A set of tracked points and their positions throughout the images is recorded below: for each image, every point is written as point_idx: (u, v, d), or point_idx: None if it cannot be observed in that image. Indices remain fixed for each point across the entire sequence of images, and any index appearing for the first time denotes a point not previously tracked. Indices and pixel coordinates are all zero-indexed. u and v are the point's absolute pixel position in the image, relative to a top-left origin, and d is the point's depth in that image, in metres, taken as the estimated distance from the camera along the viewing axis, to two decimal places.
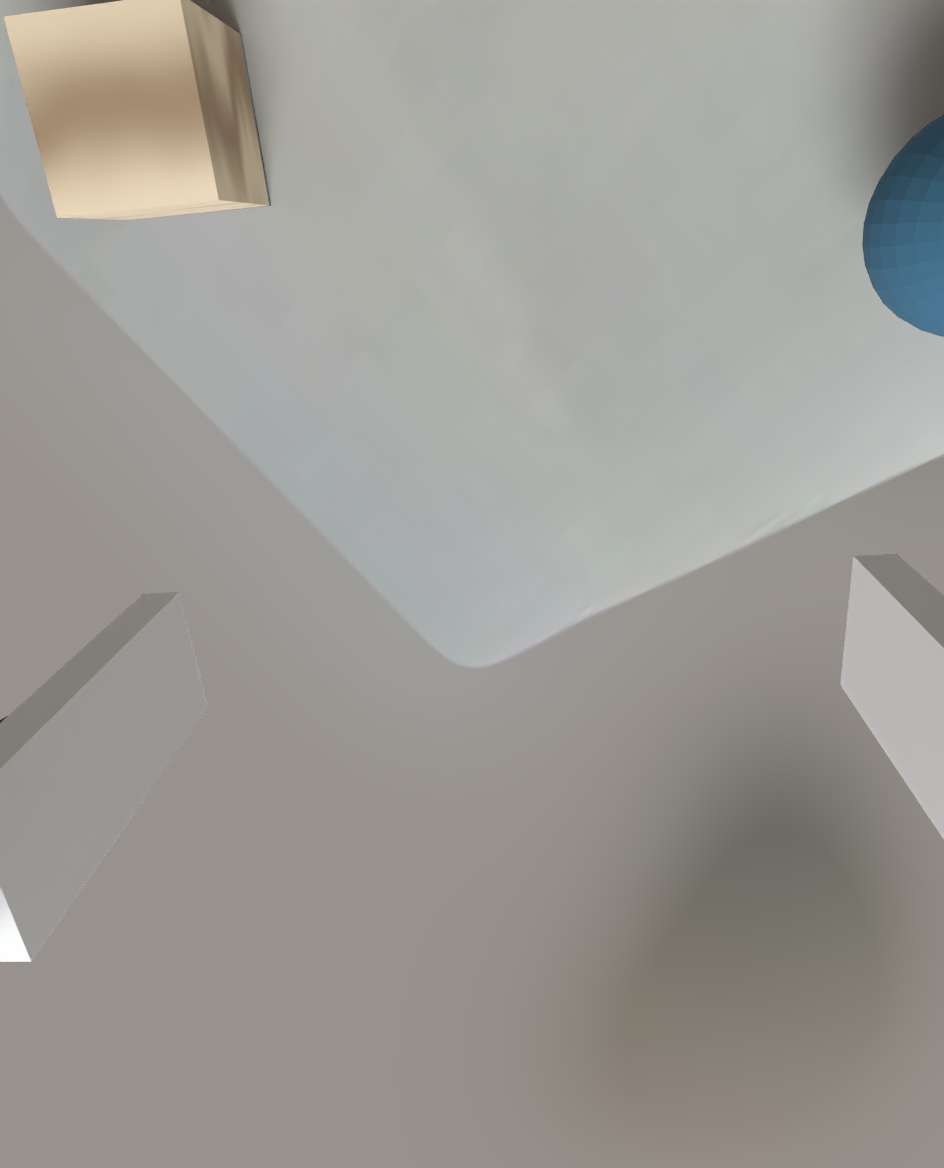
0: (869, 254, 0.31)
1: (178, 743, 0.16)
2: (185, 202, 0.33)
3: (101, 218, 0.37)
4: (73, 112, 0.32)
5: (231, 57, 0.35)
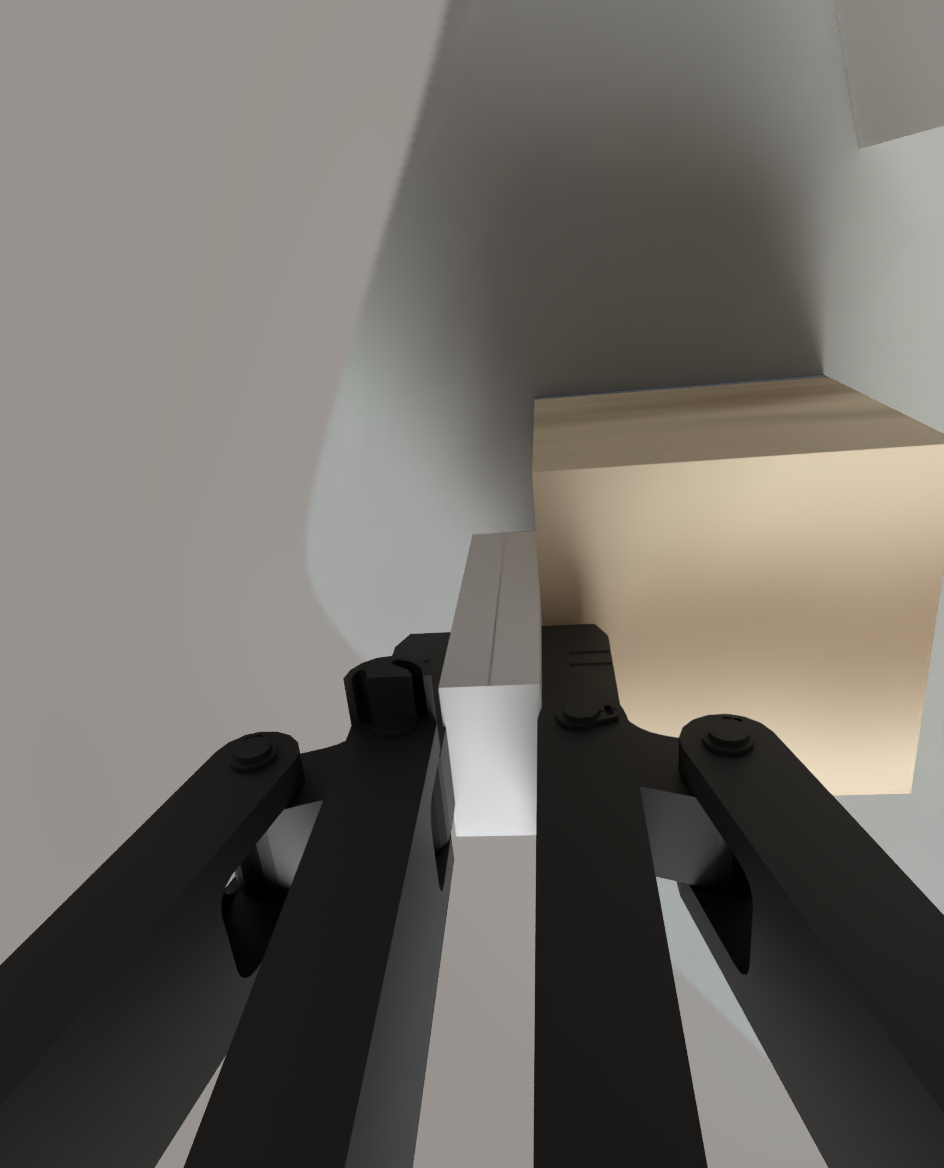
0: None
1: None
2: (837, 794, 0.16)
3: None
4: (639, 642, 0.15)
5: None
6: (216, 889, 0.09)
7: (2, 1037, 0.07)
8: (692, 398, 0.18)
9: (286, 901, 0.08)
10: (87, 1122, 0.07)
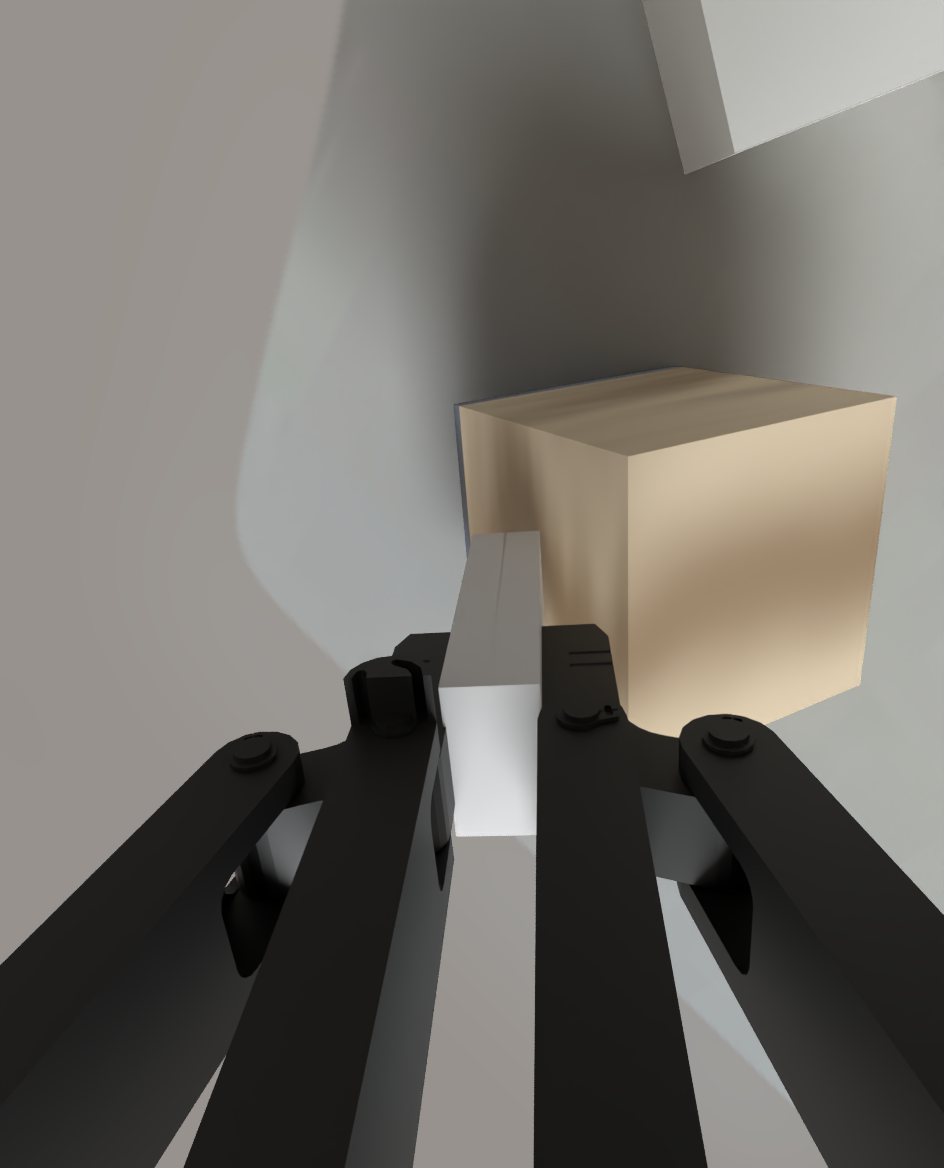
0: None
1: None
2: None
3: None
4: (700, 604, 0.16)
5: None
6: (216, 888, 0.09)
7: (2, 1037, 0.07)
8: (611, 390, 0.20)
9: (286, 901, 0.08)
10: (87, 1122, 0.07)
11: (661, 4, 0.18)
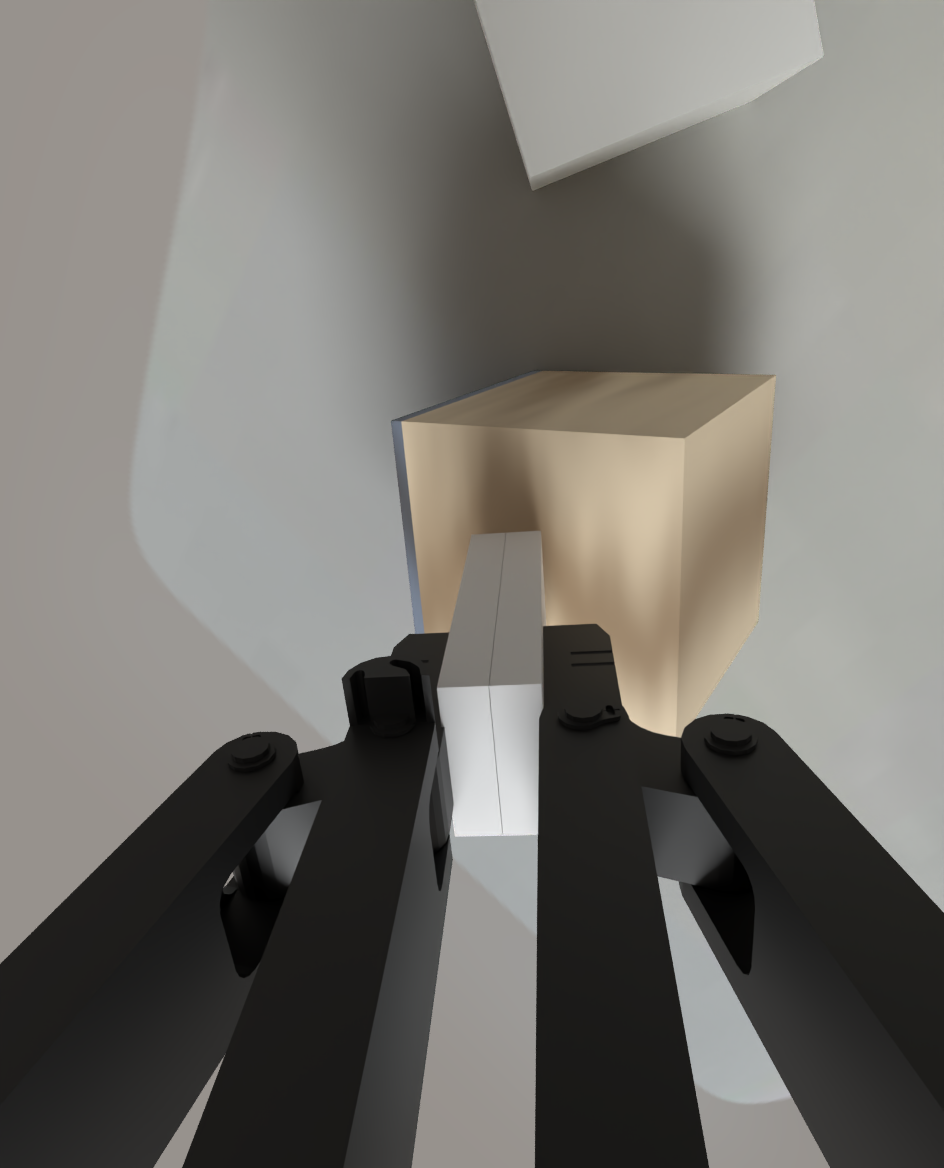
0: None
1: None
2: None
3: None
4: (707, 570, 0.18)
5: None
6: (214, 888, 0.09)
7: (0, 1037, 0.07)
8: (526, 393, 0.21)
9: (284, 902, 0.08)
10: (86, 1122, 0.07)
11: None
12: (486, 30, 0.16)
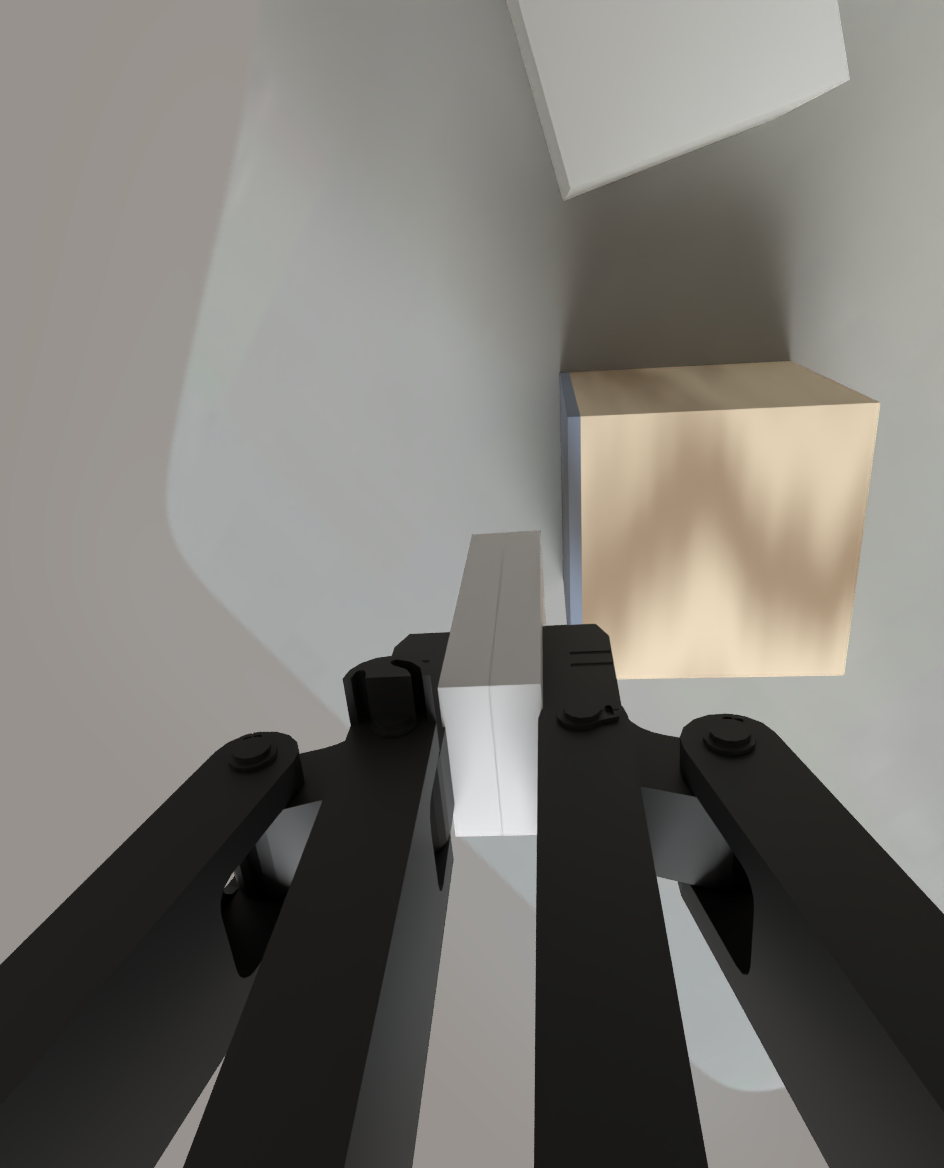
0: None
1: None
2: None
3: (705, 675, 0.21)
4: None
5: None
6: (215, 889, 0.09)
7: (1, 1037, 0.07)
8: (622, 388, 0.22)
9: (285, 901, 0.08)
10: (86, 1122, 0.07)
11: (525, 54, 0.20)
12: (533, 50, 0.17)
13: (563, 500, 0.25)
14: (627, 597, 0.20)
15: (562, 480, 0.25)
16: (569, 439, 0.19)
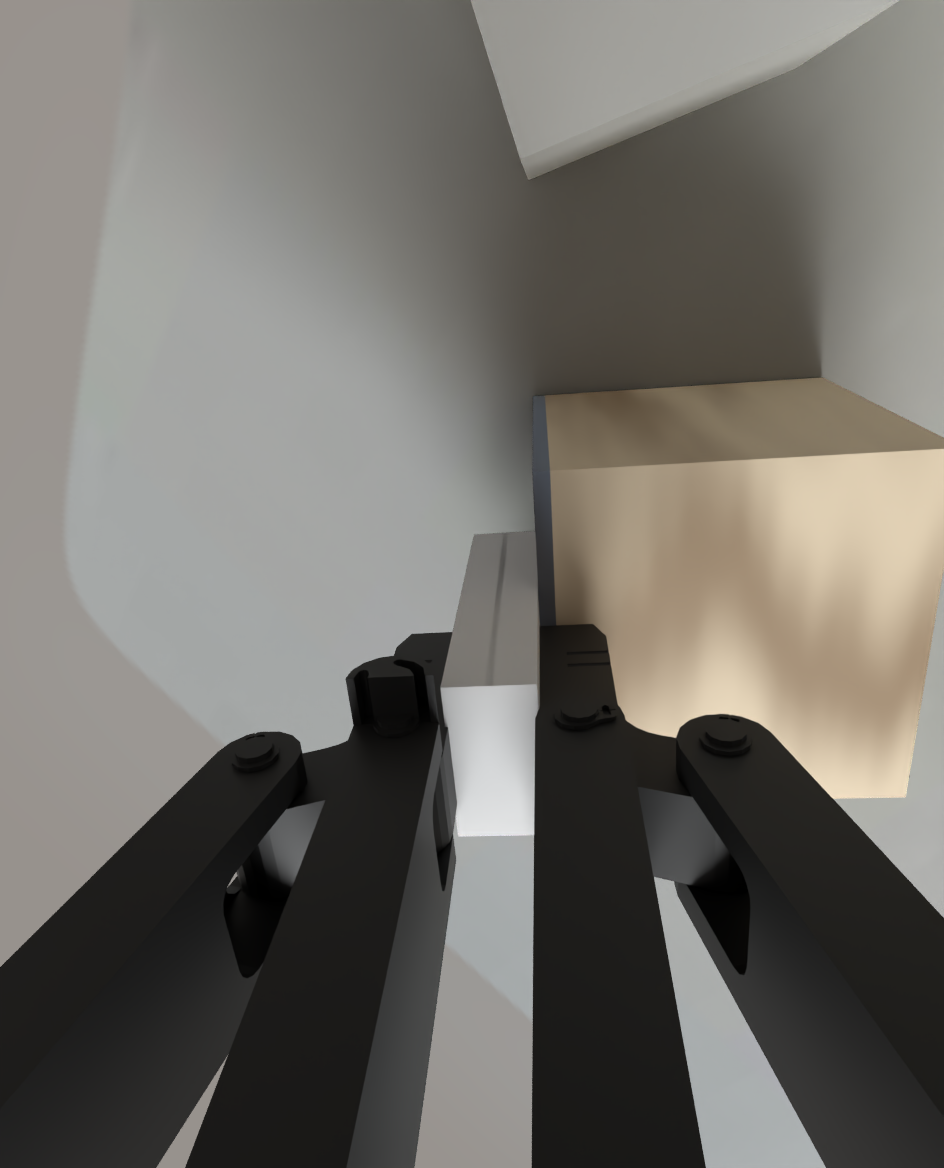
0: None
1: None
2: None
3: None
4: None
5: None
6: (217, 888, 0.09)
7: (4, 1037, 0.07)
8: (609, 421, 0.17)
9: (288, 900, 0.08)
10: (89, 1122, 0.07)
11: None
12: None
13: None
14: (618, 702, 0.15)
15: None
16: (535, 501, 0.14)
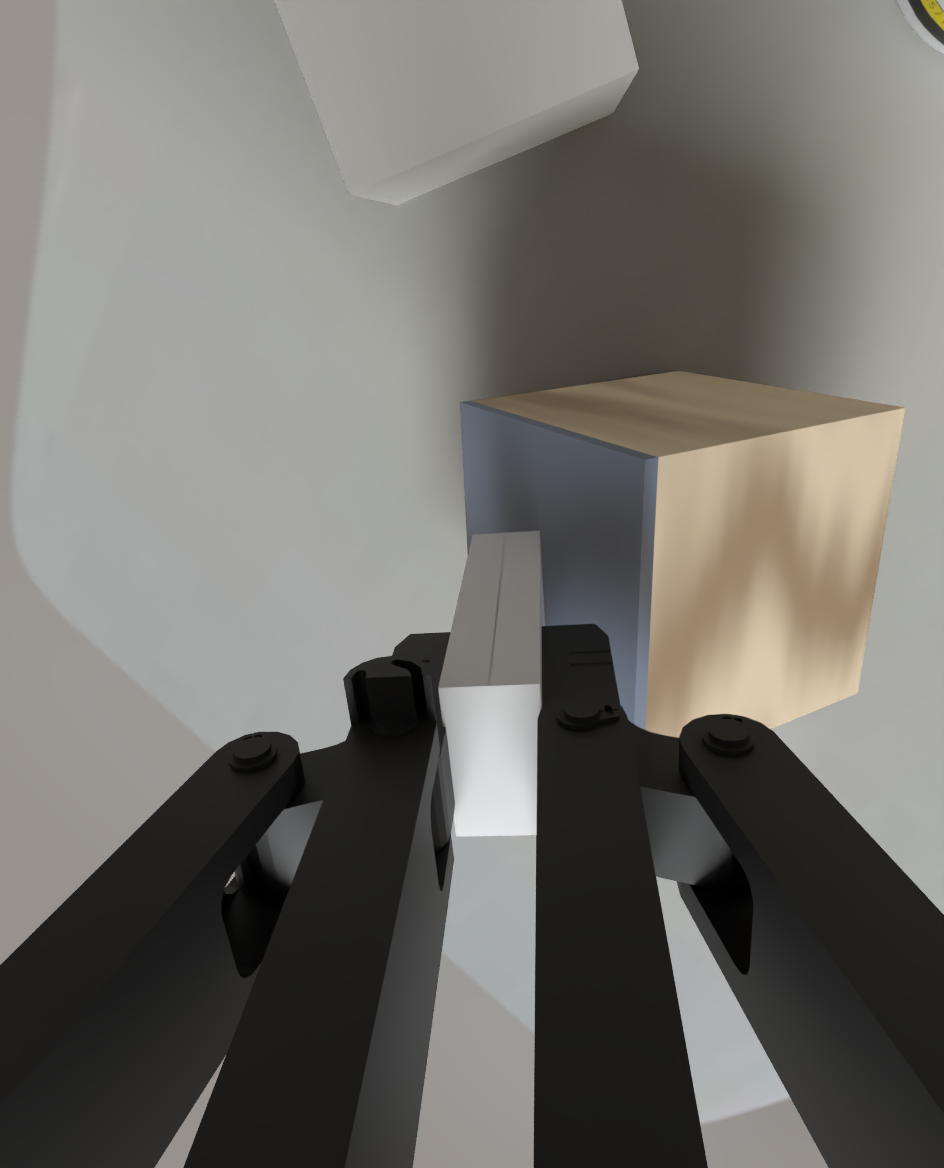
0: None
1: None
2: None
3: None
4: None
5: None
6: (216, 889, 0.09)
7: (2, 1037, 0.07)
8: (596, 415, 0.18)
9: (286, 902, 0.08)
10: (87, 1122, 0.07)
11: None
12: (292, 43, 0.15)
13: None
14: (690, 670, 0.17)
15: None
16: (644, 488, 0.14)
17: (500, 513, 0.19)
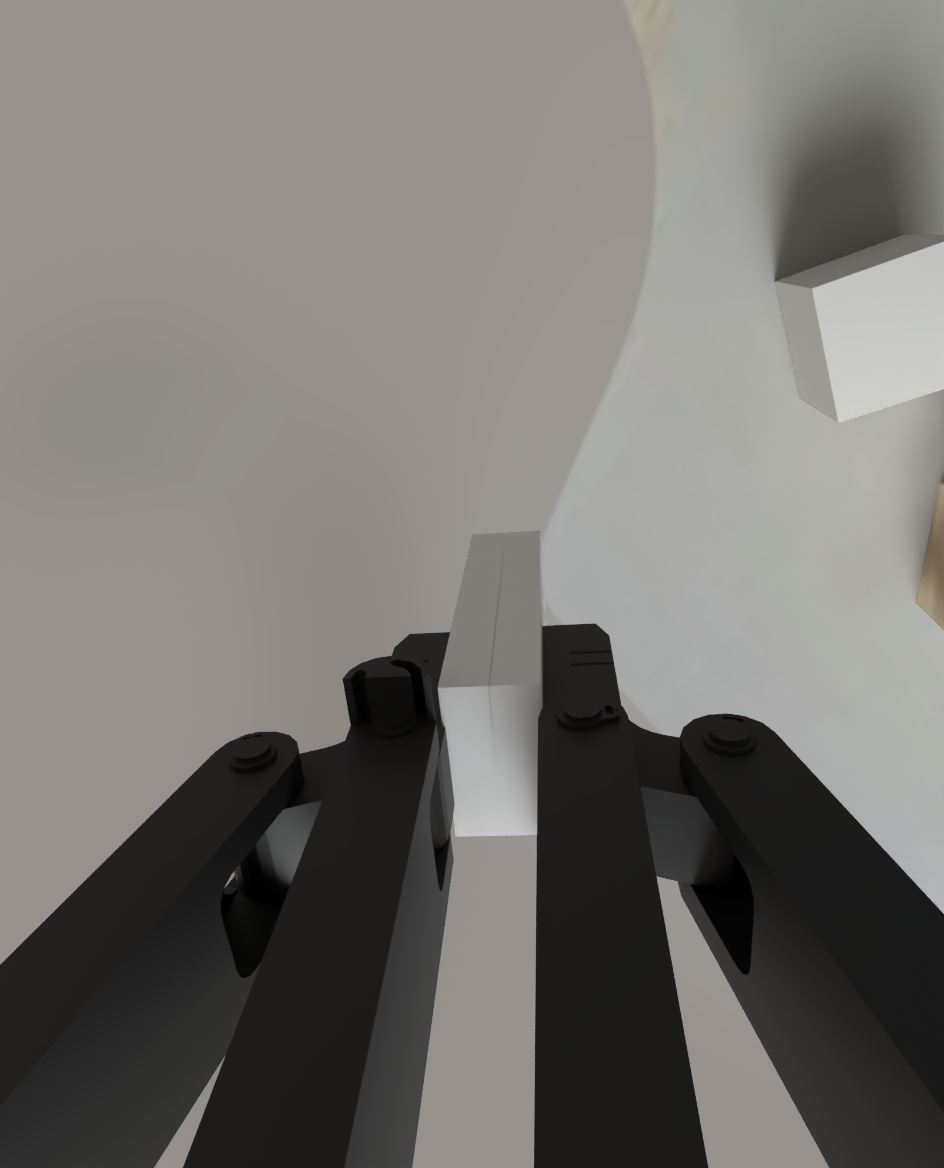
0: None
1: None
2: None
3: None
4: None
5: None
6: (215, 888, 0.09)
7: (1, 1037, 0.07)
8: None
9: (285, 901, 0.08)
10: (86, 1122, 0.07)
11: (799, 338, 0.38)
12: (827, 363, 0.35)
13: None
14: None
15: None
16: None
17: None
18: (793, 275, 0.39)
